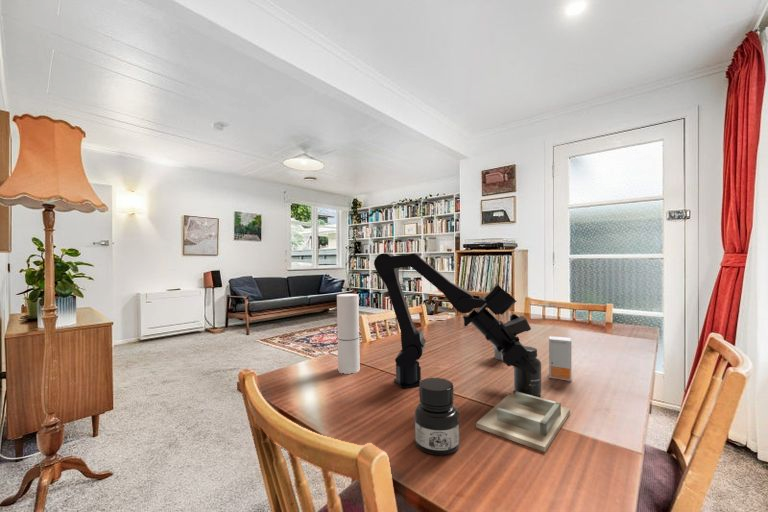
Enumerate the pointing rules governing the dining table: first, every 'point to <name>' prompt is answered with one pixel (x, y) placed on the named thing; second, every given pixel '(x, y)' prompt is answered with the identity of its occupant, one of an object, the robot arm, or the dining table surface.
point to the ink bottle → (436, 418)
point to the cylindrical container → (348, 333)
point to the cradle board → (525, 420)
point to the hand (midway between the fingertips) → (532, 368)
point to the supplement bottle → (529, 375)
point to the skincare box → (560, 358)
